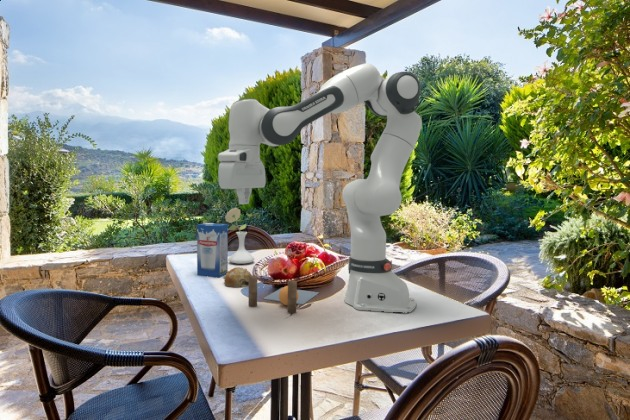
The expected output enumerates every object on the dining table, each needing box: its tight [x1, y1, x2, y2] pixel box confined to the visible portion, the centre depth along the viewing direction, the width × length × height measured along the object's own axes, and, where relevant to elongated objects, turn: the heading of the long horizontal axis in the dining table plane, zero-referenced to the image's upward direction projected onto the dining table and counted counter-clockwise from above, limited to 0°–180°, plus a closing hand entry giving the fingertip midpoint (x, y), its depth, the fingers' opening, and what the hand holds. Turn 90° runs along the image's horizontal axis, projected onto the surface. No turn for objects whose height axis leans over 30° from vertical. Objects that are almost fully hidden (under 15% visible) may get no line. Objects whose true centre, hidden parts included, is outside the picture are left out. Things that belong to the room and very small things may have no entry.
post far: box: [248, 274, 258, 308], centre depth 123 cm, size 3×3×9 cm
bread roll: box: [223, 267, 252, 288], centre depth 147 cm, size 10×10×8 cm
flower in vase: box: [224, 207, 255, 265], centre depth 181 cm, size 13×11×25 cm
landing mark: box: [262, 287, 320, 306], centre depth 134 cm, size 14×14×1 cm
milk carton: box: [196, 222, 229, 279], centre depth 159 cm, size 10×6×20 cm, turn 72°
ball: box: [279, 285, 299, 307], centre depth 124 cm, size 6×6×6 cm
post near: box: [286, 279, 298, 314], centre depth 118 cm, size 3×3×9 cm
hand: (243, 204), depth 119 cm, fingers closed
